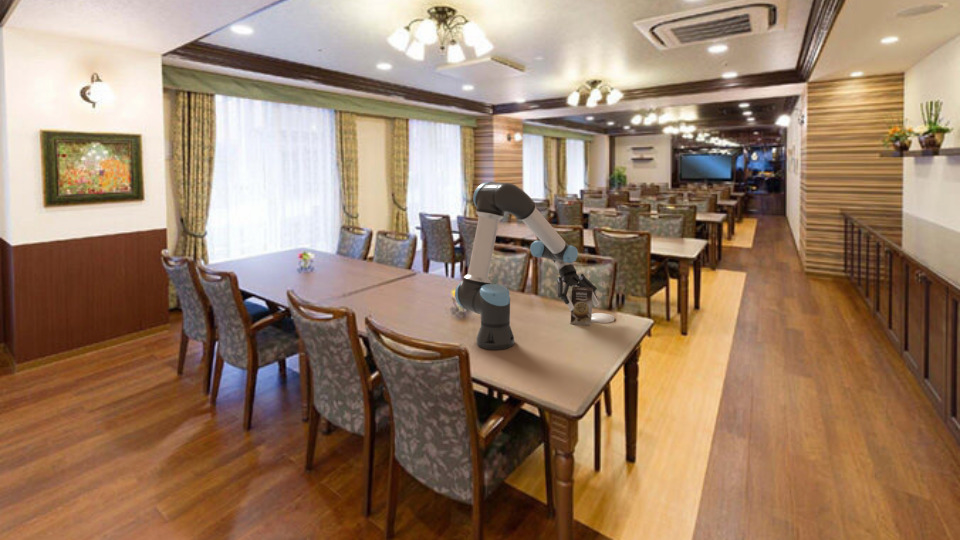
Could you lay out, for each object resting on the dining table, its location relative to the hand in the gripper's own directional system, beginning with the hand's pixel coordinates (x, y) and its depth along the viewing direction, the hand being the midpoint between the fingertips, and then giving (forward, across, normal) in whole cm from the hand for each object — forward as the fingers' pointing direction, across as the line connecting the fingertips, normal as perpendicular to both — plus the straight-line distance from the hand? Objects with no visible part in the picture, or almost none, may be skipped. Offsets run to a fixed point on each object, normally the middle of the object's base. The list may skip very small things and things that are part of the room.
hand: (584, 307), depth 218 cm
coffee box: (+4, +1, -7) cm, 8 cm away
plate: (+4, -11, -6) cm, 13 cm away
